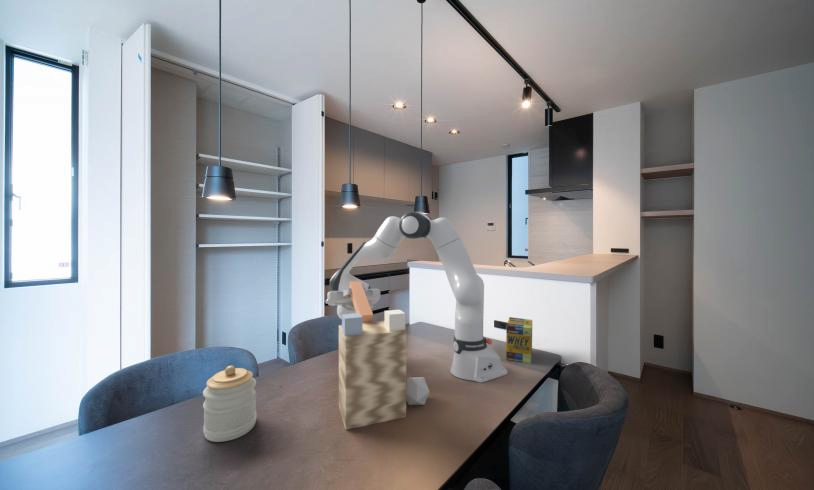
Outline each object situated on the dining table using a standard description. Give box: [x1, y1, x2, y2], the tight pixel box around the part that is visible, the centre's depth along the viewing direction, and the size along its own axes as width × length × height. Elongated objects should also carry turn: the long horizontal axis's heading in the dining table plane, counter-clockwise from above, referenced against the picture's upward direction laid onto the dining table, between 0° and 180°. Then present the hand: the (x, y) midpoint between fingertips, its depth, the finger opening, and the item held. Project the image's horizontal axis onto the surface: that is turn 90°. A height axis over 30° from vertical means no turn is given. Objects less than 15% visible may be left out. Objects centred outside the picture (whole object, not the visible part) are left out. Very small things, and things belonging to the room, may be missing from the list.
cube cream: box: [383, 309, 406, 332], centre depth 96 cm, size 5×5×5 cm
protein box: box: [505, 316, 533, 365], centre depth 142 cm, size 10×15×16 cm
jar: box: [202, 365, 257, 443], centre depth 88 cm, size 13×13×18 cm
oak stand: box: [338, 320, 407, 431], centre depth 96 cm, size 18×12×26 cm
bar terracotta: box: [349, 281, 374, 323], centre depth 111 cm, size 4×21×4 cm, turn 21°
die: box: [406, 376, 430, 406], centre depth 102 cm, size 8×9×10 cm
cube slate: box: [341, 313, 363, 336], centre depth 91 cm, size 5×5×5 cm
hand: (357, 289), depth 115 cm, fingers closed on bar terracotta, 4 cm apart
